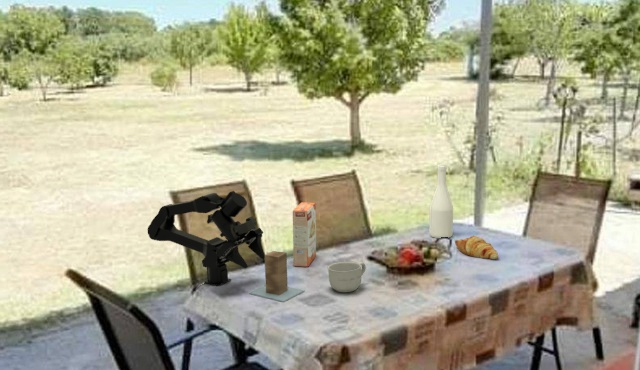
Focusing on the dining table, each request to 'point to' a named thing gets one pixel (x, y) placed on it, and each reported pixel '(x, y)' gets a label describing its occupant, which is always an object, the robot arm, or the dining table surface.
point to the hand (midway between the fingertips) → (255, 263)
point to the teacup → (346, 275)
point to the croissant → (476, 248)
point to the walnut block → (276, 272)
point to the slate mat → (282, 298)
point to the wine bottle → (441, 208)
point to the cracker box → (304, 234)
